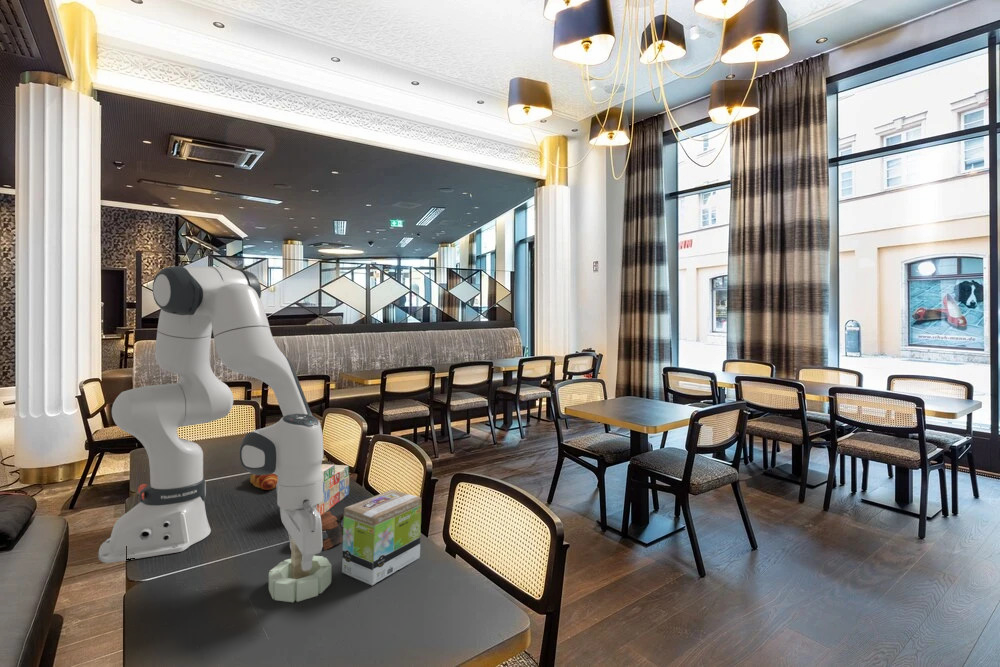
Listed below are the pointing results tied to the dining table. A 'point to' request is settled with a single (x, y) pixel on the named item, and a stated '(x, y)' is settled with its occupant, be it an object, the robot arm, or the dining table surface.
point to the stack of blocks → (333, 486)
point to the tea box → (381, 535)
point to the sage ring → (299, 581)
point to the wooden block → (297, 563)
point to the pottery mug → (332, 529)
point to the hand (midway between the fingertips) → (300, 559)
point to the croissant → (264, 481)
